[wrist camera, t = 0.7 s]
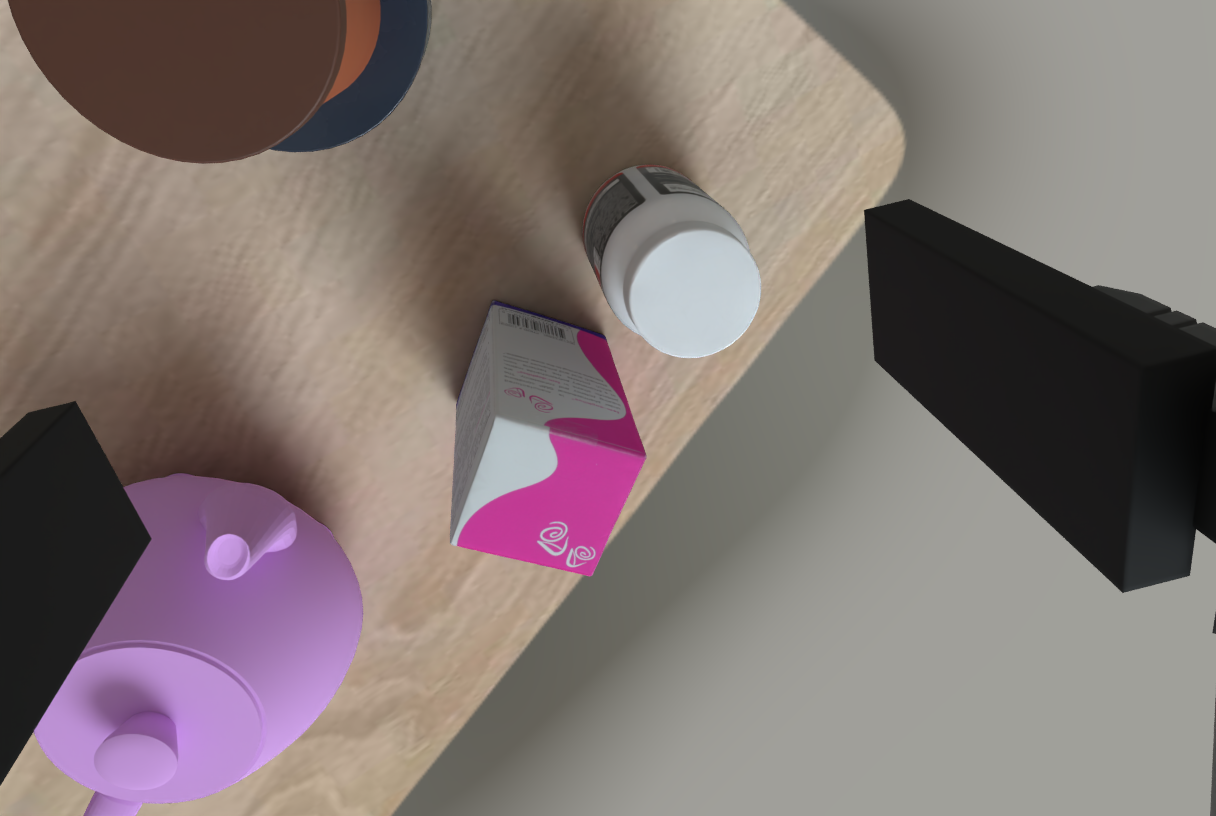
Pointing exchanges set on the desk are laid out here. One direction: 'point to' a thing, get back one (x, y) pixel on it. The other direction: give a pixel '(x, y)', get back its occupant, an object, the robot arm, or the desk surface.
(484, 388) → the supplement box
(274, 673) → the teapot
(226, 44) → the canister
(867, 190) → the desk surface
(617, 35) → the desk surface
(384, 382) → the desk surface
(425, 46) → the tin
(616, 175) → the pill bottle
